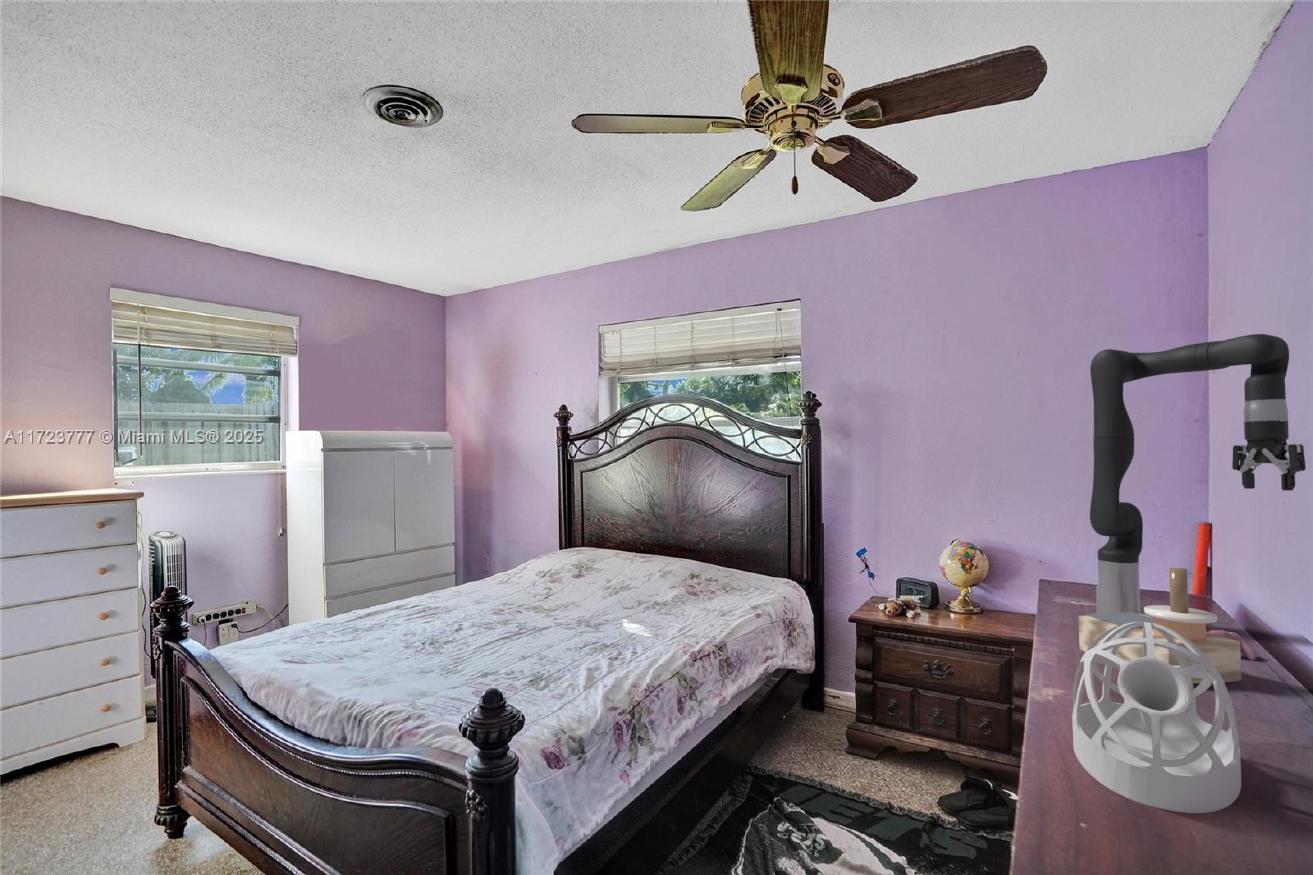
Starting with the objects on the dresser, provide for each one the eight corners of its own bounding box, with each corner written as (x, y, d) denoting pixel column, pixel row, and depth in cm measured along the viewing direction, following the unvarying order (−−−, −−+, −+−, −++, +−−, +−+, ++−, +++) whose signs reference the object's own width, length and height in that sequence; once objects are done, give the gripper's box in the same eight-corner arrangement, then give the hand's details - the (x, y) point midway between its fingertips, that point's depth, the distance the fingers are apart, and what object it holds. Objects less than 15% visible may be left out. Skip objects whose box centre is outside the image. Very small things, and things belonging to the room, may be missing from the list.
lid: (1129, 610, 142) (1128, 564, 142) (1179, 609, 143) (1178, 563, 143) (1179, 624, 130) (1177, 574, 130) (1233, 622, 131) (1231, 573, 131)
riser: (1079, 649, 154) (1078, 615, 154) (1141, 647, 155) (1140, 613, 155) (1169, 684, 130) (1168, 644, 130) (1241, 681, 131) (1240, 641, 132)
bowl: (1144, 630, 140) (1143, 612, 140) (1179, 629, 141) (1179, 611, 141) (1179, 641, 132) (1179, 622, 132) (1217, 640, 132) (1216, 620, 133)
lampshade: (1075, 722, 111) (1229, 752, 100) (1067, 786, 90) (1262, 834, 78) (1072, 603, 112) (1225, 620, 100) (1063, 638, 90) (1257, 664, 79)
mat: (1086, 615, 154) (1086, 613, 154) (1132, 614, 155) (1132, 612, 155) (1128, 628, 142) (1128, 626, 142) (1177, 626, 143) (1177, 625, 143)
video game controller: (1244, 663, 148) (1232, 632, 151) (1260, 659, 144) (1247, 627, 147) (1199, 662, 149) (1188, 631, 152) (1213, 659, 145) (1201, 627, 148)
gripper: (1221, 421, 157) (1223, 488, 157) (1283, 417, 143) (1286, 491, 143) (1249, 421, 158) (1251, 488, 158) (1314, 418, 144) (1316, 490, 143)
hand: (1268, 489), depth 150 cm, fingers open, 8 cm apart
